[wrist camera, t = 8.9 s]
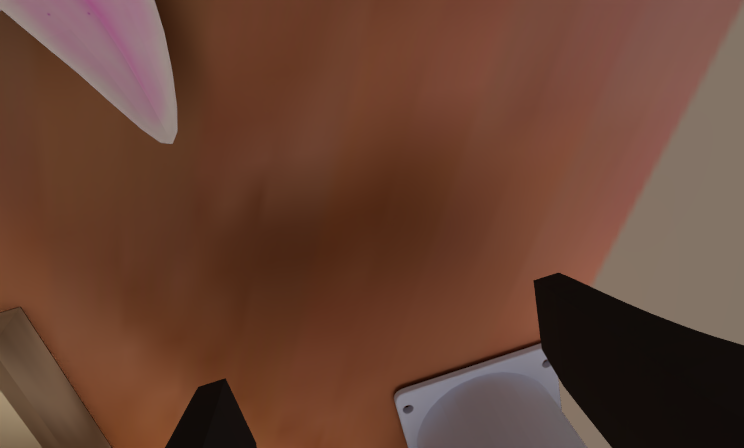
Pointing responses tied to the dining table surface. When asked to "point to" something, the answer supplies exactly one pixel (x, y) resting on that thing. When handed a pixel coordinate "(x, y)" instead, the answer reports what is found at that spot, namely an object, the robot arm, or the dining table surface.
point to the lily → (110, 53)
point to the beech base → (38, 394)
